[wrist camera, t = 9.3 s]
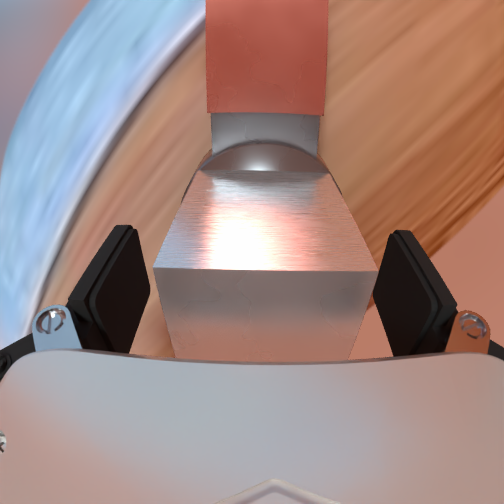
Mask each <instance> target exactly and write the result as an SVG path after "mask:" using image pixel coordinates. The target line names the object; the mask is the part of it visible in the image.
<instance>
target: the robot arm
mask: <svg viewBox="0 0 504 504" xmlns="http://www.w3.org/2000/svg"><path fill="white" fill-rule="evenodd" d="M149 295H150V284H149V280H148V275H147V271H146V267H145V263H144V259H143V254H142V250H141V245H140V240H139V236H138V232H137V230H136V229H133V227H132V226H131V225H116V226H115V227H114V229H113V230H112V231H111V233H110V234H109V236H108V237H107V239H106V240H105V242H104V243H103V244H102V246H101V247H100V249H99V250H98V252H97V253H96V255H95V256H94V258H93V259H92V261H91V263H90V264H89V266H88V267H87V269H86V270H85V272H84V273H83V275H82V277H81V278H80V280H79V281H78V283H77V285H76V286H75V288H74V290H73V291H72V293H71V295H70V296H69V298H68V300H69V301H68V303H67V304H66V306H62V305H52V306H49V307H46V308H44V309H43V310H41V311H40V312H39V313H38V314H37V315H36V317H35V318H34V320H33V323H32V333H31V334H29V335H27V336H26V337H24V338H22V339H20V340H18V341H16V342H15V343H13V344H11V345H9V346H7V347H5V348H4V349H2V350H0V504H504V348H503V347H502V346H500V345H498V344H497V343H495V342H493V341H492V340H490V328H489V325H488V323H487V322H486V320H485V319H483V317H481V316H480V315H479V314H477V313H475V312H472V311H466V310H465V311H461V312H459V313H458V311H457V309H456V306H457V303H456V301H455V299H454V298H453V296H452V294H451V293H450V291H449V289H448V288H447V286H446V284H445V283H444V281H443V279H442V278H441V276H440V275H439V273H438V271H437V270H436V268H435V267H434V265H433V264H432V262H431V260H430V259H429V257H428V256H427V254H426V253H425V251H424V250H423V248H422V247H421V245H420V244H419V242H418V241H417V240H416V238H415V237H414V235H413V234H412V232H411V231H409V230H395V231H394V232H393V234H390V235H389V238H388V241H387V245H386V249H385V252H384V256H383V259H382V263H381V266H380V270H379V273H378V276H377V279H376V283H375V286H374V289H373V298H374V301H375V304H376V307H377V309H378V312H379V315H380V318H381V321H382V323H383V326H384V329H385V332H386V335H387V338H388V341H389V344H390V347H391V350H392V353H393V356H394V357H385V358H373V359H358V360H338V361H310V362H245V361H217V360H197V359H182V358H169V357H157V356H147V355H136V354H129V352H130V349H131V346H132V343H133V340H134V337H135V334H136V331H137V328H138V326H139V323H140V320H141V317H142V314H143V312H144V309H145V306H146V304H147V301H148V298H149Z"/></svg>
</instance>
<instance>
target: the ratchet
mask: <svg viewBox="0 0 504 504" xmlns="http://www.w3.org/2000/svg"><path fill="white" fill-rule="evenodd" d="M327 40H328V0H206V83H207V113H211V131H212V149H211V150H209V152H208V153H207V154H206V155H205V156H204V158H203V159H202V161H201V162H200V164H199V165H198V167H197V169H196V171H195V173H194V175H193V177H192V179H191V181H190V183H189V185H188V186H187V188H186V191H185V193H184V195H183V198H182V202H183V199H184V197H185V195H186V193H187V191H188V189H189V187H190V185H191V183H192V181H193V179H194V177H195V175H196V173H197V171H198V170H263V171H295V172H316V173H329V174H330V175H331V173H330V171H329V169H328V168H327V166H326V164H325V162H324V161H323V159H322V158H321V157H320V155H319V154H318V153H317V146H318V134H319V120H320V115H322V116H324V102H325V85H326V66H327ZM331 177H332V179H333V181H334V183H335V185H336V186H337V188H338V190H339V192H340V194H341V196H342V193H341V191H340V189H339V187H338V185H337V184H336V182H335V180H334V178H333V176H332V175H331ZM342 198H343V196H342ZM182 202H181V204H182Z"/></svg>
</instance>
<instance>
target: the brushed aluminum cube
mask: <svg viewBox="0 0 504 504" xmlns="http://www.w3.org/2000/svg"><path fill="white" fill-rule="evenodd" d="M153 271H154V276H155V280H156V284H157V289H158V293H159V297H160V301H161V305H162V309H163V313H164V317H165V321H166V324H167V328H168V332H169V336H170V339H171V343H172V346H173V350H174V353H175V357H176V358H182V359H197V360H217V361H245V362H310V361H338V360H348V358H349V355H350V353H351V350H352V348H353V345H354V342H355V340H356V337H357V334H358V332H359V329H360V326H361V323H362V320H363V318H364V315H365V312H366V309H367V306H368V303H369V300H370V297H371V294H372V291H373V288H374V285H375V281H376V278H377V275H378V272H379V271H378V269H377V267H376V264H375V262H374V260H373V258H372V256H371V254H370V251H369V249H368V247H367V245H366V243H365V241H364V239H363V237H362V235H361V233H360V231H359V229H358V227H357V225H356V223H355V221H354V219H353V217H352V215H351V213H350V211H349V209H348V207H347V205H346V203H345V201H344V199H343V198H342V196H341V194H340V192H339V190H338V188H337V186H336V185H335V183H334V181H333V179H332V177H331V175H330V174H329V173H316V172H295V171H263V170H198V171H197V173H196V175H195V177H194V179H193V181H192V183H191V185H190V187H189V189H188V191H187V193H186V195H185V197H184V199H183V202H182V204H181V206H180V208H179V210H178V212H177V214H176V216H175V218H174V221H173V223H172V225H171V227H170V229H169V231H168V234H167V236H166V238H165V240H164V242H163V245H162V247H161V249H160V251H159V254H158V256H157V258H156V261H155V263H154V265H153Z"/></svg>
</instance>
